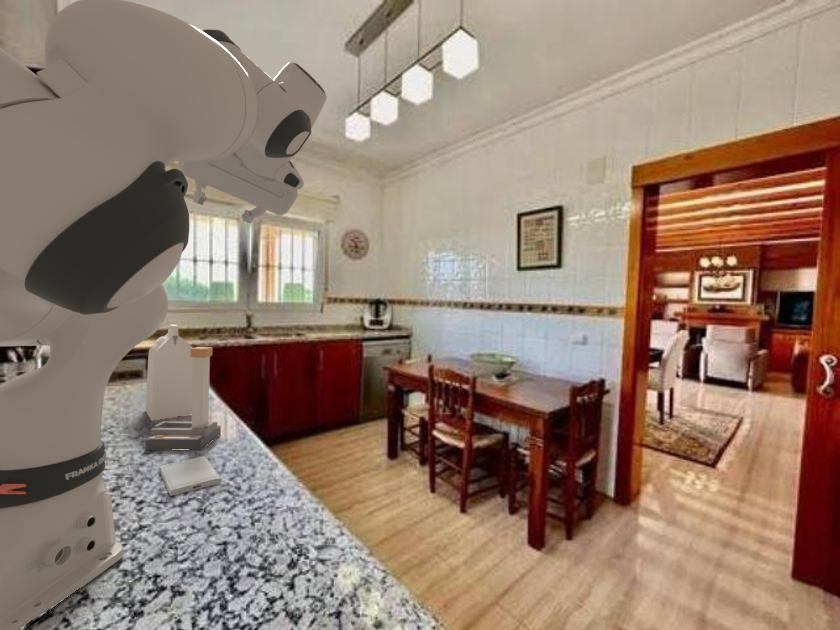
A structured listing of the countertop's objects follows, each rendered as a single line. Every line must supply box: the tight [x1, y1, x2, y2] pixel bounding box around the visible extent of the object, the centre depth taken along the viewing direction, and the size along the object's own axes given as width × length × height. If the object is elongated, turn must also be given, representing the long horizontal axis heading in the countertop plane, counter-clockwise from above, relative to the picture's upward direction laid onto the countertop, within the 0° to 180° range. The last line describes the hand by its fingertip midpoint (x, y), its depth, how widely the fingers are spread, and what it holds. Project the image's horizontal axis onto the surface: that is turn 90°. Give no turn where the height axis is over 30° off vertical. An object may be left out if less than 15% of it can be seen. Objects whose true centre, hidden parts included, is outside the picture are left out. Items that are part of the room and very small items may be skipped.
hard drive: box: [159, 456, 222, 497], centre depth 74 cm, size 2×8×12 cm
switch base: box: [144, 420, 222, 451], centre depth 91 cm, size 10×12×4 cm
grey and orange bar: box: [190, 346, 213, 428], centre depth 91 cm, size 3×3×20 cm
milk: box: [144, 323, 194, 422], centre depth 113 cm, size 12×12×26 cm
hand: (222, 211), depth 74 cm, fingers open, 8 cm apart
